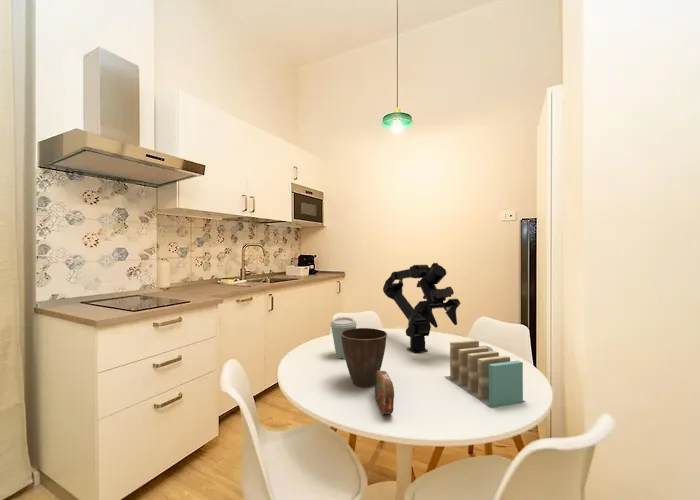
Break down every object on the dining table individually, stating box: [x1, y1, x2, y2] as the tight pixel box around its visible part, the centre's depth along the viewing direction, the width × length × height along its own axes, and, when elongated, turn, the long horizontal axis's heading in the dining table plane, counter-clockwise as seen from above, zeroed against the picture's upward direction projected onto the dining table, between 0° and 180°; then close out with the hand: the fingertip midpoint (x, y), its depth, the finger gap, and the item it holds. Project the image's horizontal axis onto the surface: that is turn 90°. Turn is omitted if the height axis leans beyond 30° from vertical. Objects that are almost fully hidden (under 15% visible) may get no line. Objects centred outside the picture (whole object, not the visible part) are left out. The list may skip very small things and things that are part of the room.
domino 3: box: [468, 350, 500, 393], centre depth 95 cm, size 2×10×11 cm, turn 107°
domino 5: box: [489, 360, 524, 408], centre depth 86 cm, size 2×10×11 cm, turn 106°
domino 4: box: [478, 355, 511, 399], centre depth 91 cm, size 2×10×11 cm, turn 107°
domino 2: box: [459, 347, 489, 386], centre depth 99 cm, size 2×10×11 cm, turn 106°
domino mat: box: [444, 375, 527, 409], centre depth 96 cm, size 22×12×1 cm, turn 16°
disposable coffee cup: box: [330, 316, 357, 360], centre depth 127 cm, size 11×11×15 cm
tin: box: [374, 370, 395, 415], centre depth 86 cm, size 15×3×8 cm, turn 5°
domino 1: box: [449, 339, 480, 381], centre depth 104 cm, size 2×10×12 cm, turn 107°
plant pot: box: [341, 327, 388, 388], centre depth 101 cm, size 15×15×16 cm
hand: (446, 325), depth 118 cm, fingers open, 9 cm apart
